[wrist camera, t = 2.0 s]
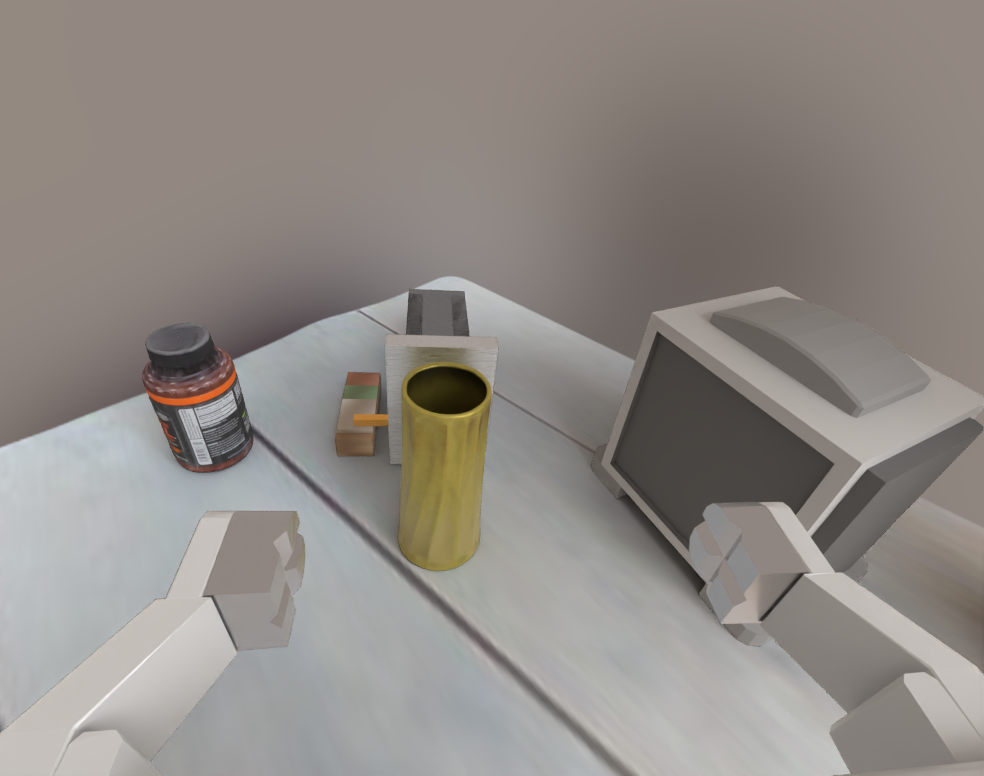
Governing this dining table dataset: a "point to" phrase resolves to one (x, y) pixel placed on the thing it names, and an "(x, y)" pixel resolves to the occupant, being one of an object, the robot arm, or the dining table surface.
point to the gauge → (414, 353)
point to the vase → (442, 463)
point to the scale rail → (358, 400)
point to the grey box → (781, 424)
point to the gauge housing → (437, 313)
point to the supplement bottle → (197, 398)
